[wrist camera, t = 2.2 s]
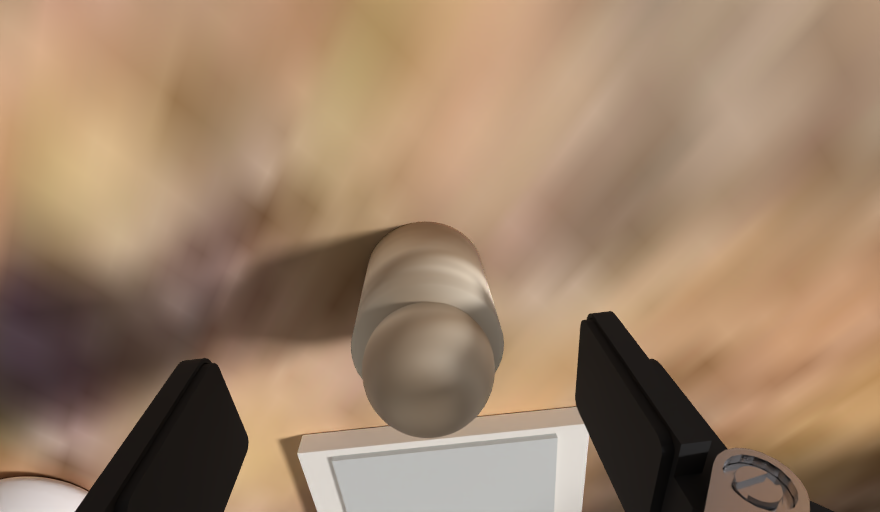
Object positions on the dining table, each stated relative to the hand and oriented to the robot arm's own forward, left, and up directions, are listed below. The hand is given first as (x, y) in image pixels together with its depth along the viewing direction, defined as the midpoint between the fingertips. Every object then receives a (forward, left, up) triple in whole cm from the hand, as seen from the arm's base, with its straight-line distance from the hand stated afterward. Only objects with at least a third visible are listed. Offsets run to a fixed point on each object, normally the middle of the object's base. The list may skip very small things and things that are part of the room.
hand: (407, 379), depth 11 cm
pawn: (-1, 0, -6) cm, 6 cm away
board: (-1, +22, -6) cm, 22 cm away
